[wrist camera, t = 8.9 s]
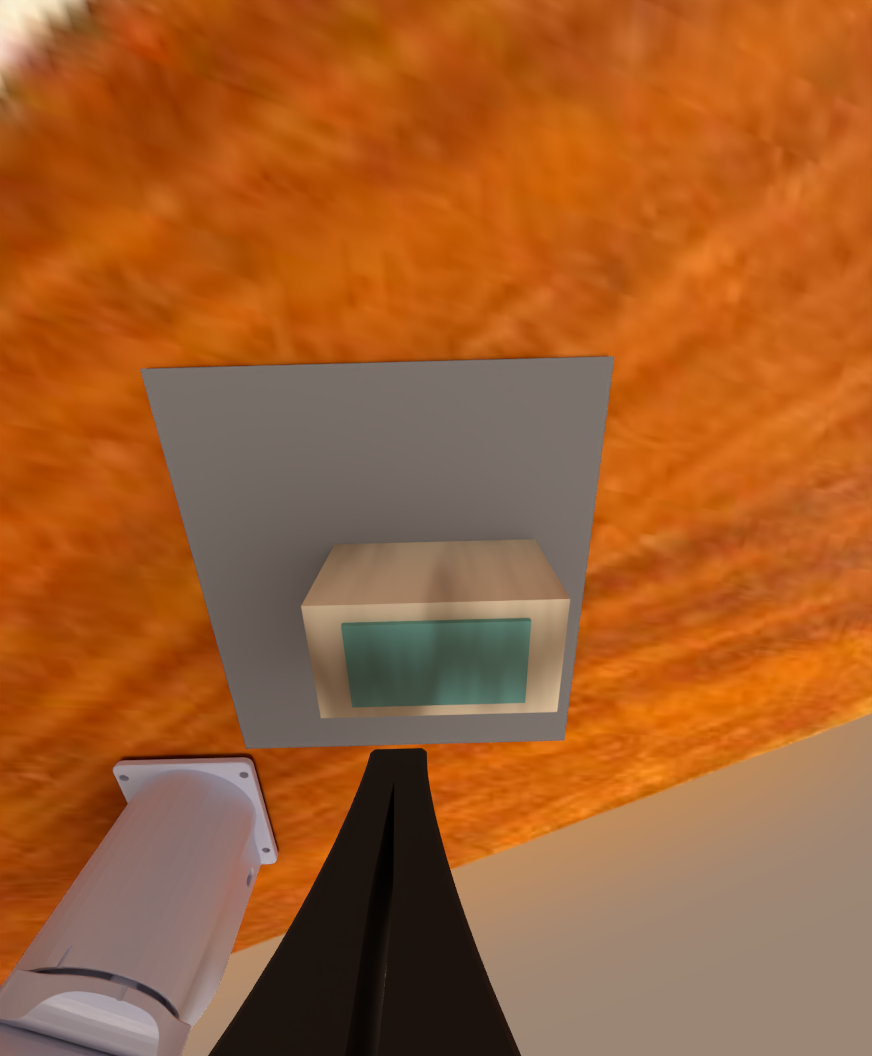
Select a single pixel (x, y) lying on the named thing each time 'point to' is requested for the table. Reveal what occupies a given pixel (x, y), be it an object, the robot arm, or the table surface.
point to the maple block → (436, 629)
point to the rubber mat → (372, 506)
